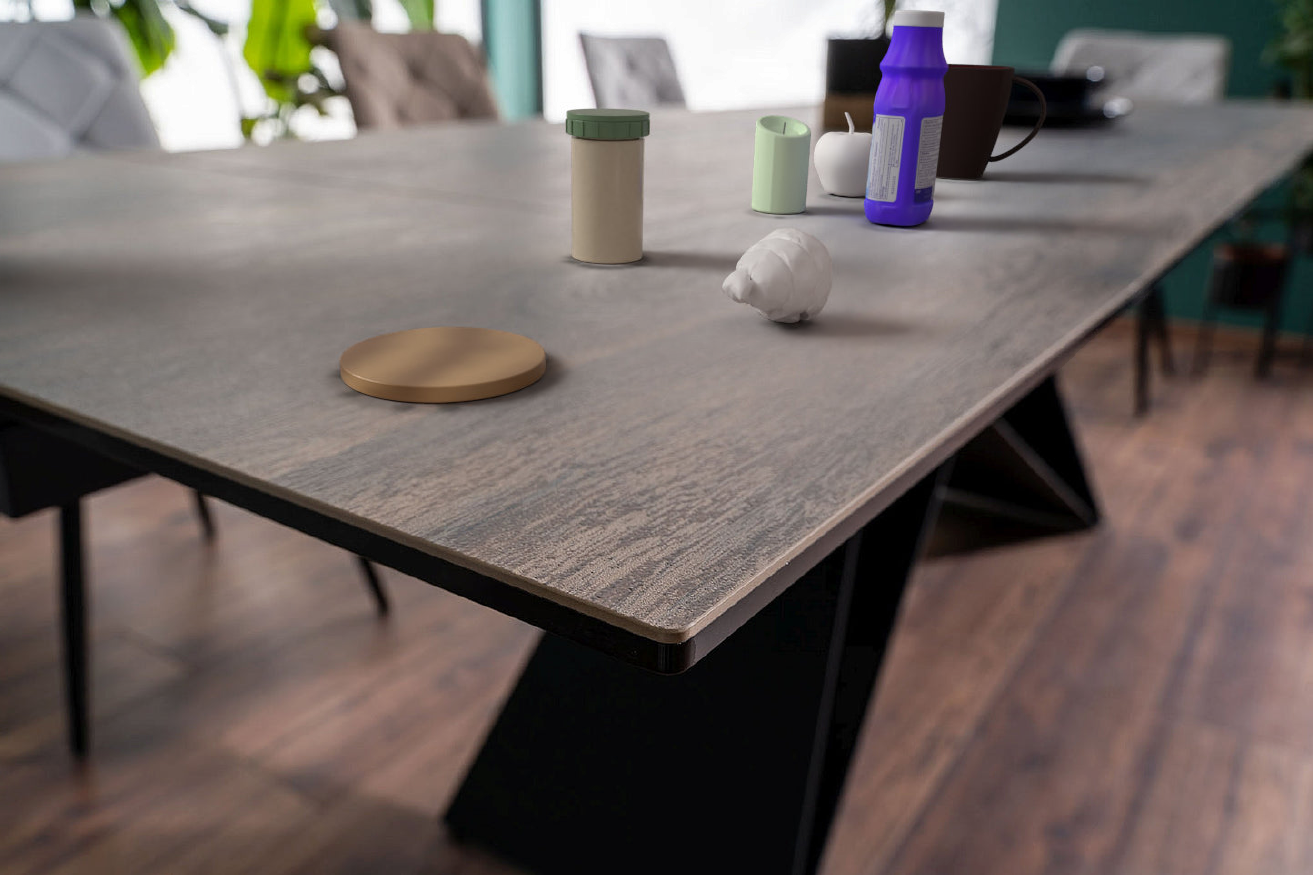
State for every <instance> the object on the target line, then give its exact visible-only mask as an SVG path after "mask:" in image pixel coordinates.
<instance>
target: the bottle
mask: <svg viewBox="0 0 1313 875" xmlns="http://www.w3.org/2000/svg"><path fill="white" fill-rule="evenodd" d="M945 16H946V13H945V12H944V11H939V10H919V9H916V10H914V9H904V10H903V9H900V10H898V9H897V10H896V11H894V19H893V25H892V26H893V28H892V30H893V31H892V34H891V38H890V39H891V40H890V43H889V46H888V49H887V52H886V53H885V55H884V57H883V58H882V60H881V61H880V63H879V70H880V71H881V75H882V77H881V80H880V82H879V85H878V86H877V90H876V93H875V98H874V102H873V121H872V132H871V134H872V140H871V150H870V159H869V169H868V178H867V187H866V195H865V199H864V200H863V210H864V215H865V217H866V219H867V221H869V222H870V223H873V224H882V225H891V226H898V227H911V226H912V227H913V226H917V225H920V224H923V223H925V222H926V221H927V220H928V219H929V218H930V216H931V214H932V212H933V207H934V202H935V201H934V197H935V190H936V189H935V188H936V180H937V178H936V171H937V162H938V154H939V145H940V137H941V129H942V120H943V113H944V110H945V90H944V84H943V77H944V75H945V74H946V72H947V71H948V67H949V66H948V64H949V63H948V62H947V60H946V56H945V52H944V44H943V43H944V41H943V40H944V39H943V38H944V27H945V26H944V25H945Z"/></svg>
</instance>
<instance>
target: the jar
mask: <svg viewBox="0 0 1313 875" xmlns="http://www.w3.org/2000/svg"><path fill="white" fill-rule="evenodd" d="M570 136H571V137H570V154H571V155H570V156H571V158H570V159H571V160H570V161H571V162H570V164H571V165H570V166H571V167H570V168H571V169H570V170H571V175H570V176H571V180H570V182H571V185H570V186H571V188H570V189H571V257H572V258H573V259H575V260H577V261H580V262H585V263H591V264H607V265H609V264H610V265H614V264H615V265H616V264H626V263H627V264H629V263H633V262H637V261H639V260H641V259H642V258H643V257H644V256H643V255H644V254H643V252H644V250H643V249H644V247H643V246H644V204H645V202H644V201H645V199H644V198H645V197H644V196H645V145H646V143H645V141H646V138H645V137H640V138H625V139H605V138H586V137H577V136H572V135H570Z"/></svg>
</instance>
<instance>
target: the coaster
mask: <svg viewBox="0 0 1313 875" xmlns="http://www.w3.org/2000/svg"><path fill="white" fill-rule="evenodd" d="M339 358H340V359H339V369H340V377H341V379H342V381H343V382H344V384H345V385H347V386H348V387H349V388H351V389H353V390H354V391H356V392H359V393H361V394H364V395H367V396H371V397H374V398H379V399H383V400H388V401H389V400H391V401H396V402H407V403H421V404H422V403H423V404H424V403H425V404H426V403H427V404H428V403H430V404H433V403H434V404H436V403H437V404H438V403H439V404H440V403H442V404H443V403H458V402H459V403H460V402H469V401H476V400H484V399H489V398H495V397H499V396H504V395H507V394H510V393H514V392H518V391H519V390H522V389H524V388H526V387H529V386H531V385H533V384H534V383H536V382H537V381H539V380H540V379H541V378H543V375H544V374H545V372H546V368H547V360H546V359H547V355H546V350H545V348H544V347H543V346H542V345H541V344H540V343H539V342H537V341H536V340H533V339H532V338H529V337H527V336H524V335H521V334H519V333H515V332H511V331H505V330H500V329H492V328H484V327H474V326H473V327H471V326H469V327H468V326H438V327H437V326H435V327H423V328H412V329H406V330H398V331H394V332H388V333H384V334H380V335H376V336H373V337H369V338H367V339H364V340H360V341H359V342H357V343H355V344H353V345H351V346H350V347H348V348H346V350H344V351H343V352H342V354H341V356H340V357H339Z"/></svg>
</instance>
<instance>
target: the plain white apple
mask: <svg viewBox="0 0 1313 875" xmlns="http://www.w3.org/2000/svg"><path fill="white" fill-rule="evenodd" d="M844 115H845V117H846V120H847V123H848V126H849V130H848V132H846V131H829V132H825V133H824V134H823V135H822V136H821V137H820V138H819V139H818V141H817V142H816V145H815V147H814V151H813V162H814V167H815V169H816V172H817V175H818V178H819V180H820V183H821V186H822V189H823V190H824V191H825V192H826V193H827V194H829V195H832V194H833V195H835V196H842V197H843V196H844V197H852V198H854V197H866V187H867V178H868V169H869V159H870V150H871V140H872V133H869V132H856V131H855V125H854V122H853V120H852V117H851V115H850V113H849V112H847V111H845V112H844Z"/></svg>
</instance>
